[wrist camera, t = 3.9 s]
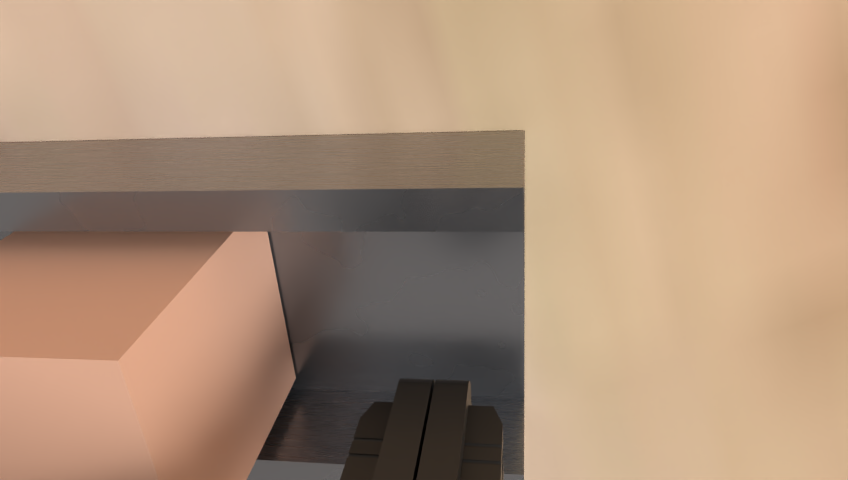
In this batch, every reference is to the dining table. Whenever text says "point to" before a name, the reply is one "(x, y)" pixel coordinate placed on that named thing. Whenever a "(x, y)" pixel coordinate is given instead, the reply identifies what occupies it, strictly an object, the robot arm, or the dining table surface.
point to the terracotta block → (138, 354)
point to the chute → (329, 258)
